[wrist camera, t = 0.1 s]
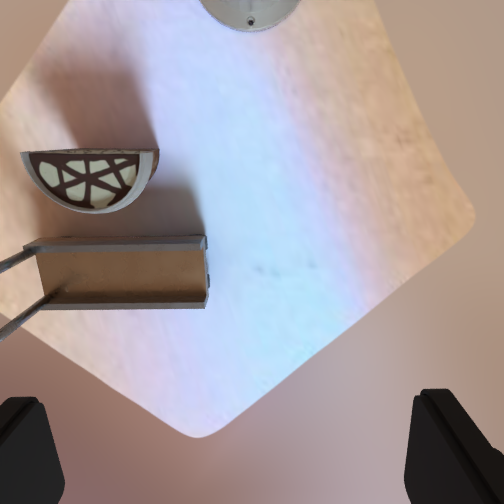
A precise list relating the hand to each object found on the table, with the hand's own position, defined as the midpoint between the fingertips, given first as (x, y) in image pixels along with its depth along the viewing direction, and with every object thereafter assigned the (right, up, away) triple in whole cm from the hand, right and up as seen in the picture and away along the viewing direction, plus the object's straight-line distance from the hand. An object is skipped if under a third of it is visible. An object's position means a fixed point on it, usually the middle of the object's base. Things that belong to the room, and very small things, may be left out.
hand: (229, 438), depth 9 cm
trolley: (-15, +4, +38) cm, 41 cm away
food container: (-15, +14, +34) cm, 40 cm away
